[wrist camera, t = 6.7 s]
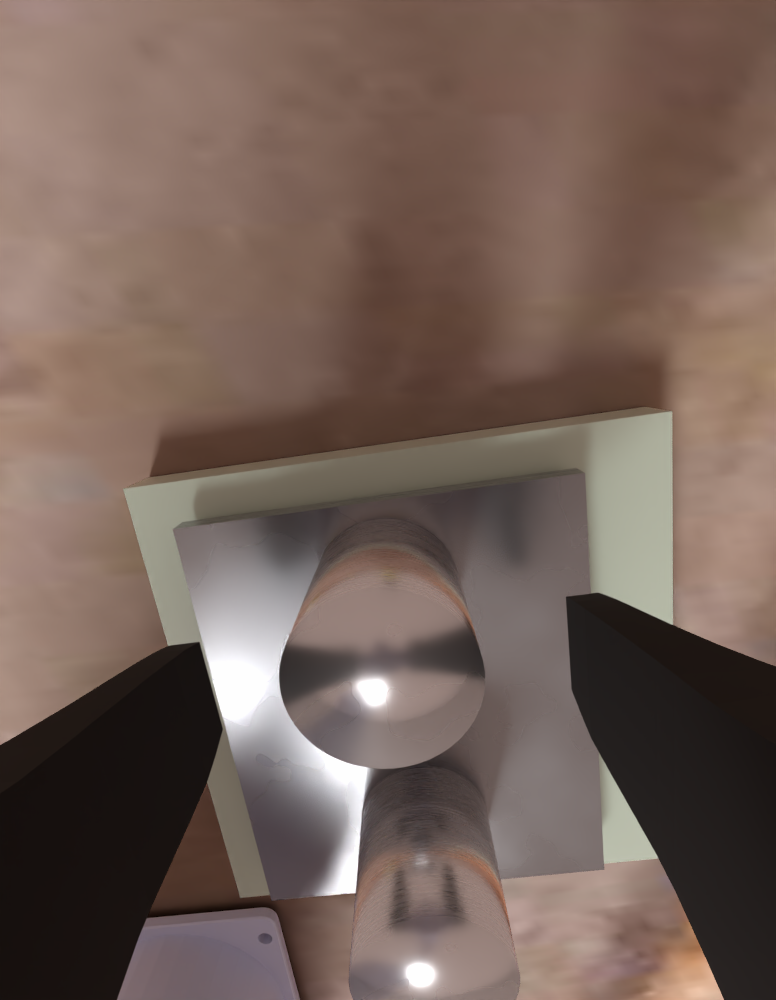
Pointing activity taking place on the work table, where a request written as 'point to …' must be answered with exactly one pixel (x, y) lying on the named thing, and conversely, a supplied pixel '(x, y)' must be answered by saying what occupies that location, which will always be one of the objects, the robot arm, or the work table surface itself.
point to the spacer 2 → (429, 895)
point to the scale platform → (503, 645)
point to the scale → (419, 465)
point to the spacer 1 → (383, 649)
